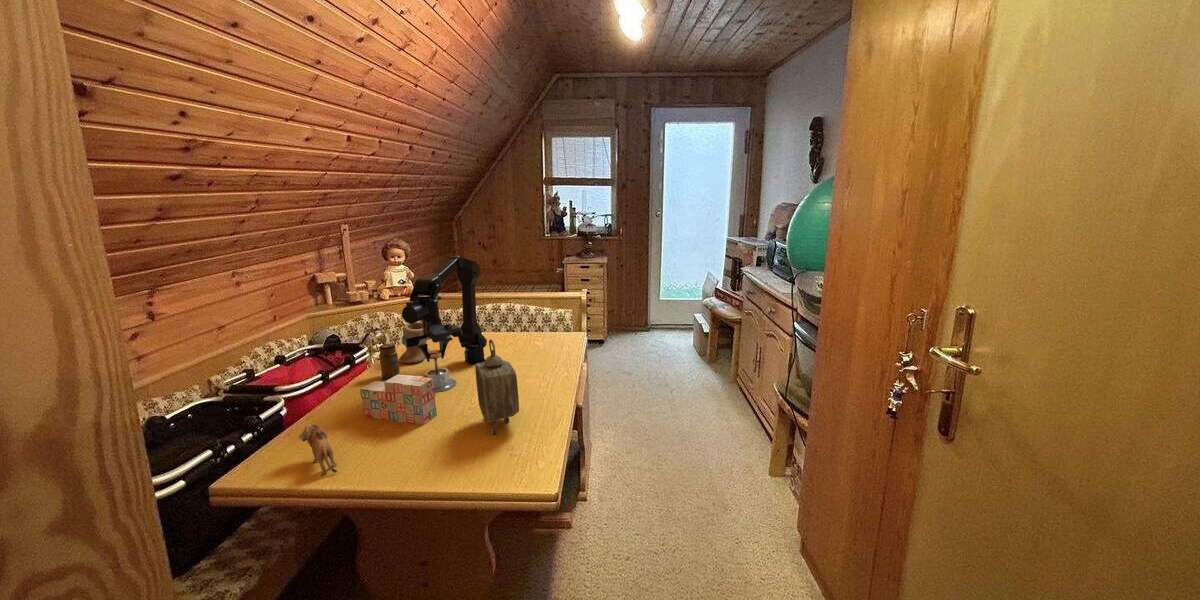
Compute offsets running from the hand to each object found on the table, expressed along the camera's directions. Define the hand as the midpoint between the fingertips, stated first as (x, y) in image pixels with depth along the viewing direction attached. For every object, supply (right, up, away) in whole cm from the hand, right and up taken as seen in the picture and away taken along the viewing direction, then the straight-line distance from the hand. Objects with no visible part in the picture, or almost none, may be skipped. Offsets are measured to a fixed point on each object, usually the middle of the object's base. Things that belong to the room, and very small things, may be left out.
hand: (435, 359), depth 162 cm
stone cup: (-18, -4, +31) cm, 36 cm away
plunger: (0, -5, +1) cm, 5 cm away
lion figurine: (-13, -20, -44) cm, 50 cm away
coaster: (0, -9, +2) cm, 9 cm away
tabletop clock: (+28, -15, -27) cm, 41 cm away
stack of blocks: (-3, -15, -20) cm, 25 cm away
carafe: (-1, -9, +1) cm, 9 cm away
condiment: (-20, -8, +11) cm, 24 cm away
